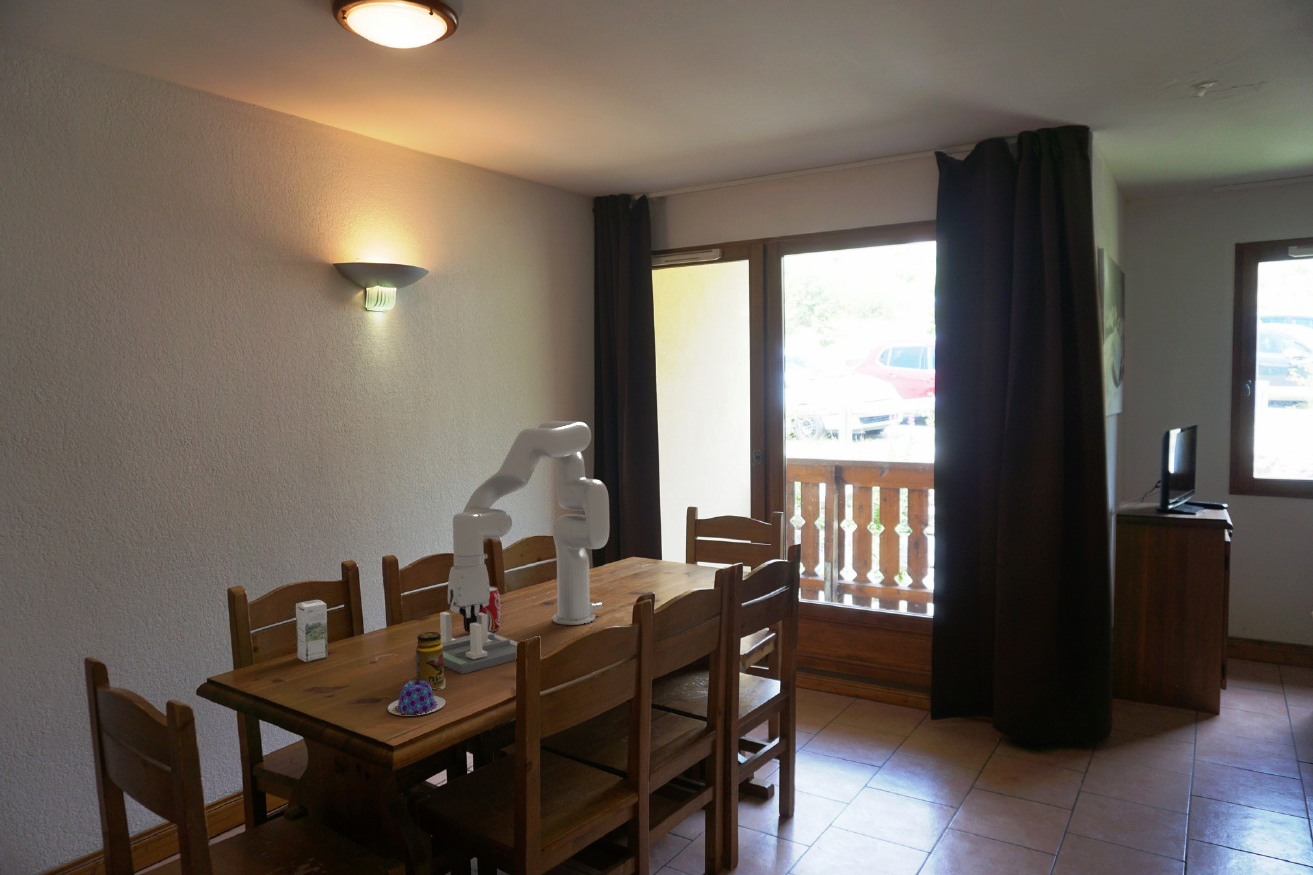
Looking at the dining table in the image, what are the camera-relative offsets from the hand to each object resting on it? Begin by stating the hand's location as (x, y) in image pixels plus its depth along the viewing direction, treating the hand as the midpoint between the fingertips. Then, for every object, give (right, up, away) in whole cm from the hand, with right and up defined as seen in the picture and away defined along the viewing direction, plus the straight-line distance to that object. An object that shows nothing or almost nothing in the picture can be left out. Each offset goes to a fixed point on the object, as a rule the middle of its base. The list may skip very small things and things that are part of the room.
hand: (470, 631), depth 216 cm
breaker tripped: (+3, -4, +2) cm, 5 cm away
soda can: (0, -6, +24) cm, 25 cm away
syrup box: (-41, -7, 0) cm, 41 cm away
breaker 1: (-7, -4, +4) cm, 9 cm away
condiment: (-5, -8, -21) cm, 23 cm away
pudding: (-4, -9, -35) cm, 36 cm away
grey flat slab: (+1, -6, +1) cm, 7 cm away
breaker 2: (+3, -5, -7) cm, 9 cm away
